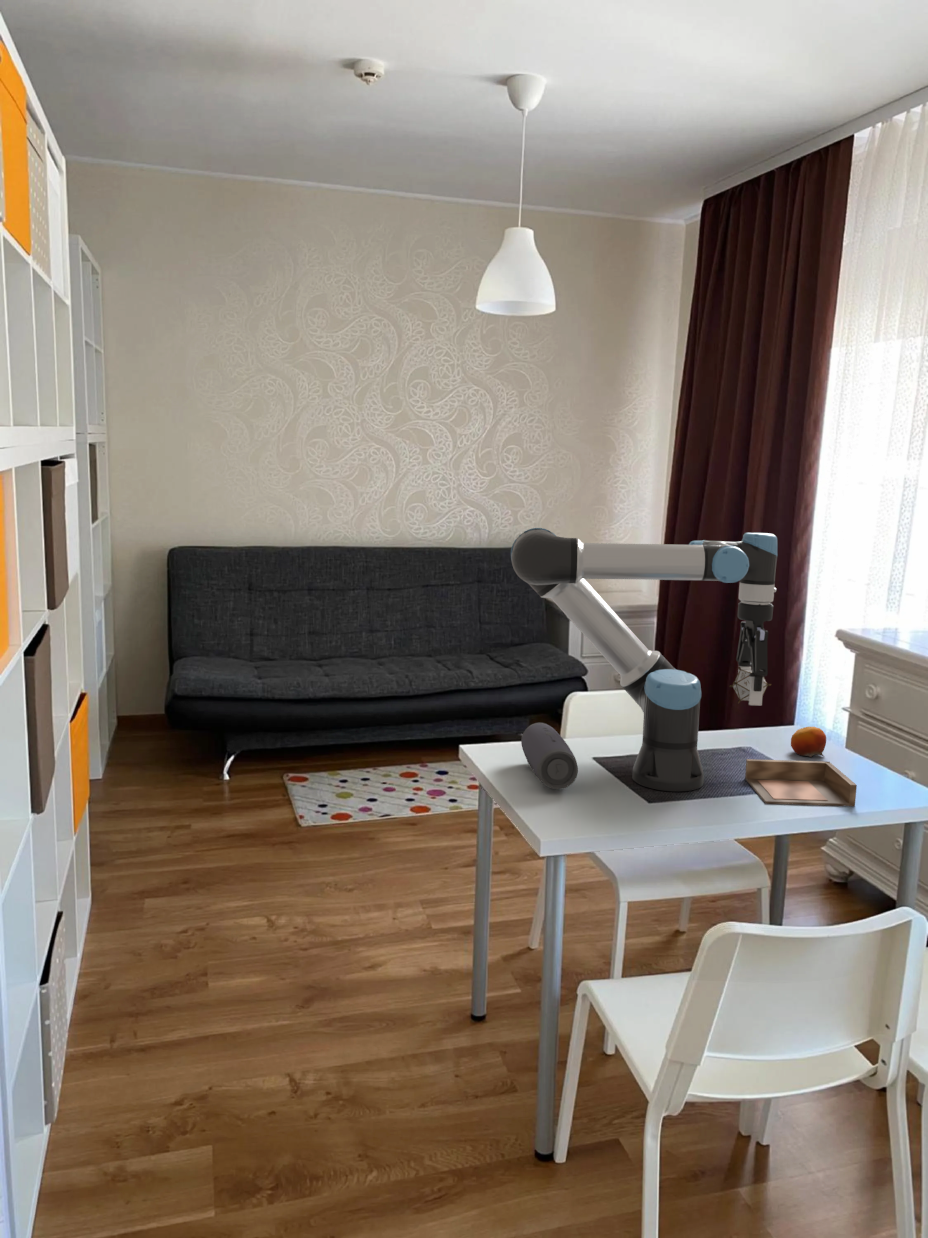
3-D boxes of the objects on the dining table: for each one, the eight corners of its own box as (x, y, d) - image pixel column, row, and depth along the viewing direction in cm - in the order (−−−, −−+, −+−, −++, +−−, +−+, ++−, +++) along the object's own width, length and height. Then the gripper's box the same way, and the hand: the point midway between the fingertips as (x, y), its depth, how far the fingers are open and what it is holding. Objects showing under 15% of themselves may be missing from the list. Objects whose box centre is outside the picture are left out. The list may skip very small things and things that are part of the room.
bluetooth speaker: (580, 795, 200) (582, 748, 198) (535, 795, 199) (537, 748, 197) (558, 762, 222) (560, 720, 221) (518, 762, 221) (519, 720, 220)
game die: (752, 720, 219) (759, 692, 212) (719, 701, 223) (726, 673, 216) (773, 697, 224) (781, 668, 216) (740, 679, 228) (747, 650, 221)
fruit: (815, 757, 226) (803, 724, 229) (791, 766, 233) (781, 733, 235) (839, 753, 230) (828, 720, 232) (816, 762, 236) (805, 730, 239)
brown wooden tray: (765, 803, 197) (767, 782, 196) (745, 779, 213) (746, 759, 212) (854, 806, 197) (856, 785, 196) (827, 781, 213) (829, 761, 212)
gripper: (788, 609, 206) (780, 712, 209) (759, 596, 228) (752, 689, 231) (752, 608, 206) (745, 711, 209) (726, 595, 228) (720, 688, 232)
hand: (748, 699), depth 220 cm, fingers closed on game die, 10 cm apart
